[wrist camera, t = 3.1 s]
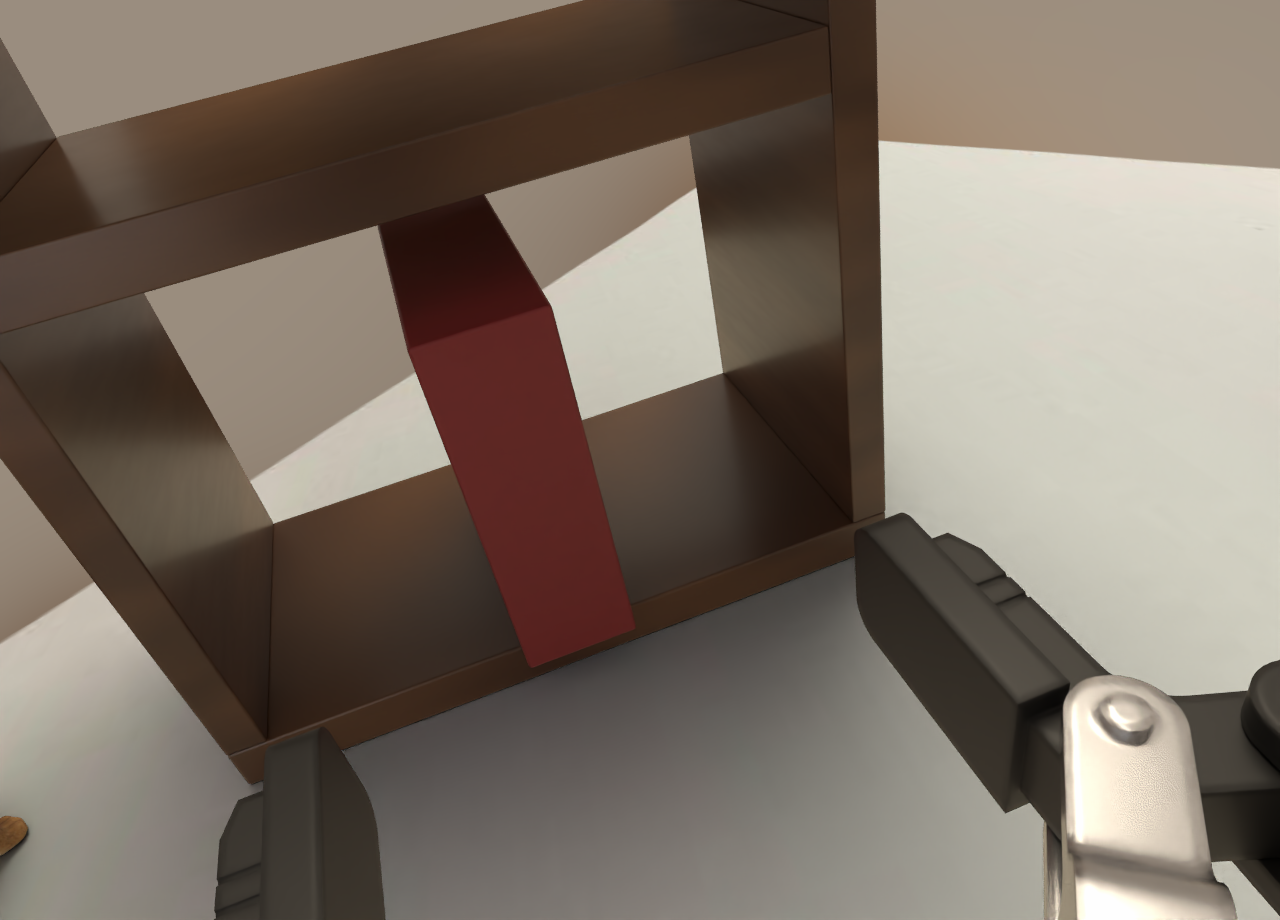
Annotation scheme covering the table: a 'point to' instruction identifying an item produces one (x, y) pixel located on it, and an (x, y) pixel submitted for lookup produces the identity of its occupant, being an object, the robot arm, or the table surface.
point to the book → (508, 424)
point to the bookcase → (433, 502)
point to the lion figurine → (11, 832)
